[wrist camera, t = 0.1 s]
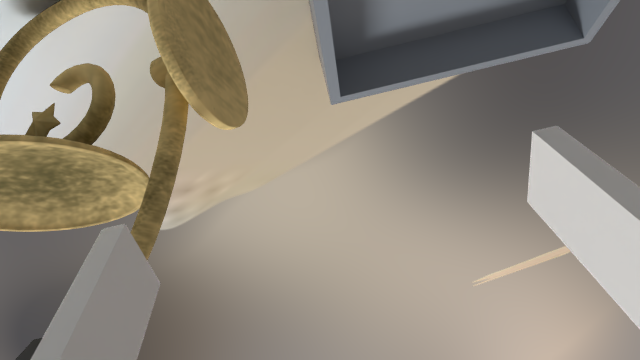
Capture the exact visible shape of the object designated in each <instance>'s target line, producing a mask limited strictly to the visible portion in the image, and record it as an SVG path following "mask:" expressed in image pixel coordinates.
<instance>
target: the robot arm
mask: <svg viewBox="0 0 640 360" xmlns="http://www.w3.org/2000/svg"><path fill="white" fill-rule="evenodd" d="M530 158H531V159H530V171H529V185H528V198H527V202H528V203H529V204H530V206H531V207H532V208H533V209H534V210H535V211H536V212H537V214H538V215H539V216H540V217H541V218H542V219H543V220H544V221H545V223H546V224H547V225H548V226H549V227H550V228H551V229H552V230H553V232H554V233H555V234H556V235H557V236H558V237H559V238H560V240H561V241H562V242H563V243H564V244H565V245H566V246H567V247H568V249H569V250H570V251H571V252H572V253H573V254H574V255H575V257H576V258H577V259H578V260H579V261H580V262H581V263H582V264H583V266H584V267H585V268H586V269H587V270H588V271H589V272H590V273H591V275H592V276H593V277H594V278H595V279H596V280H597V281H598V283H599V284H600V285H601V286H602V287H603V288H604V289H605V290H606V292H607V293H608V294H609V295H610V296H611V297H612V298H613V299H614V301H615V302H616V303H617V304H618V305H619V306H620V307H621V309H622V310H623V311H624V312H625V313H626V314H627V315H628V316H629V317H630V319H631V320H632V321H633V322H634V323H635V324H636V326H637V327H638V328H639V329H640V187H639V186H638V185H636V184H635V183H633V182H632V181H631V180H629V179H628V178H627V177H625V176H624V175H622V174H621V173H620V172H619V171H617V170H616V169H615V168H613V167H612V166H611V165H609V164H608V163H607V162H605V161H604V160H602V159H601V158H600V157H599V156H597V155H596V154H594V153H593V152H592V151H590V150H589V149H588V148H586V147H585V146H584V145H582V144H581V143H580V142H578V141H577V140H575V139H574V138H573V137H572V136H570V135H569V134H567V133H566V132H565V131H563V130H562V129H561V128H559V127H558V126H554V127H549V128H545V129H540V130H536V131H532V143H531V157H530ZM159 286H160V282H159V280H158V278H157V277H156V275H155V273H154V271H153V270H152V268H151V266H150V265H149V263H148V261H147V260H146V258H145V256H144V255H143V253H142V251H141V249H140V248H139V246H138V244H137V243H136V241H135V239H134V238H133V236H132V234H131V233H130V231H129V229H128V227H127V226H126V224H122V225H118V226H113V227H109V228H105V229H102V231H101V232H100V235H99V236H98V238H97V240H96V242H95V243H94V245H93V247H92V249H91V251H90V252H89V254H88V256H87V258H86V260H85V261H84V263H83V265H82V267H81V269H80V271H79V272H78V274H77V276H76V278H75V280H74V281H73V284H72V285H71V287H70V289H69V291H68V292H67V294H66V296H65V298H64V300H63V301H62V303H61V305H60V307H59V309H58V311H57V312H56V314H55V316H54V318H53V320H52V321H51V323H50V325H49V327H48V329H47V331H46V333H45V334H44V336H43V338H39V339H35V340H33V341H32V342H31V343H30V344H29V345H28V346H27V347H26V349H25V350H24V351H23V352H22V353H21V354H20V355H19V356H18V357H17V358H16V360H137V356H138V353H139V350H140V347H141V344H142V341H143V338H144V334H145V331H146V328H147V325H148V322H149V318H150V315H151V312H152V309H153V305H154V302H155V299H156V295H157V293H158V289H159Z"/></svg>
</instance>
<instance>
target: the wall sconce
mask: <svg viewBox="0 0 640 360" xmlns="http://www.w3.org/2000/svg"><path fill="white" fill-rule="evenodd" d="M111 5H127V6H133V7H136V8H139V9H142V10H144V11H145V12H146V13H148V16H149V21H150V26H151V29H152V33H153V36H154V39H155V42H156V45H157V48H158V50H159V53H160V55H161V57H159V58H157V59H155V60H154V61H152V62H151V65H150V74H151V76H152V78H153V80H154V81H155V83H156V84H158V85H159V86H161V87H163V88H165V103H164V111H163V120H162V126H161V131H160V136H159V141H158V146H157V151H156V155H155V159H154V162H153V166H152V170H151V174H150V178H149V177H148V175H147V174H146V173H145V172H144V171H143V170H142V169H141V168H140V167H139V166H138V165H136V164H135V163H134V162H132V161H130V160H129V159H127V158H125V157H123V156H121V155H119V154H116V153H114V152H112V151H109V150H106V149H103V148H100V147H97V146H93V145H92V144H93V143H94V142H95V141H96V140H97V139H98V137H99V136H100V135H101V134H102V132H103V131H104V130H105V128H106V126H107V124H108V123H109V121H110V119H111V116H112V113H113V109H114V106H115V89H114V84H113V82H112V80H111V78H110V76H109V74H108V73H107V72H106V71H105V70H104V69H103V68H102V67H100V66H97V65H93V64H89V63H86V64H81V65H76V66H73V67H71V68H69V69H67V70H65V71H64V72H62V73H61V74H60V75H59V76H57V77H56V78H55V79H54V81H53V82H52V83H51V84H50V86H51V87H52V88H54V89H55V90H58V91H60V92H63V93H67V94H70V93H72V92H73V91H74V90H76V89H77V88H78V87H80V86H81V85H83V84H85V83H90V85H91V87H92V101H91V105H90V108H89V110H88V112H87V114H86V116H85V117H84V118H83V120H82V121H81V122H80V124H79V125H78V126H77V127H76V128H75V129H74V130H73V131H72V132H71V133H70V134H68V135H67V136H66V137H64V138H63V139H59V138H51V137H47V135H48V133H49V131H50V130H51V129H53V128H54V127H56V126H58V125H59V124H61V123H60V122H59V121H58V120H57V119H56V118H55V117H54V106H55V103H54V104H52V105H51V106H50V107H48V108H47V109H46V110H45V111H44V112H32V117H33V122H32V124H31V125H30V127H29V129H28V131H27V133H26V134H25V135H0V231H22V232H23V231H25V232H30V231H31V232H33V231H56V230H67V229H75V228H82V227H88V226H93V225H98V224H102V223H107V222H110V221H113V220H117V219H119V218H122V217H125V216H127V215H129V214H131V213H133V212H135V211H137V210H138V209H139V212H138V214H137V217H136V220H135V222H134V225H133V228H132V231H131V234H132V236H133V238H134V239H135V241H136V243H137V244H138V246H139V248H140V249H141V251H142V253H143V255H144V256H145V258H146V260H148V258H149V255H150V253H151V251H152V248H153V246H154V243H155V241H156V238H157V236H158V233H159V230H160V227H161V225H162V222H163V219H164V216H165V214H166V210H167V207H168V203H169V200H170V197H171V193H172V190H173V187H174V183H175V179H176V175H177V171H178V166H179V162H180V158H181V154H182V148H183V143H184V137H185V131H186V124H187V114H188V104H190V105H191V106H192V108H193V109H194V110H195V111H196V112H197V113H198V114H199V115H200V116H201V117H202V118H204V119H205V120H206V121H207V122H209V123H210V124H212V125H213V126H215V127H217V128H220V129H225V130H231V129H235V128H237V127H240V126H241V125H242V124H243V123H244V122H245V120H246V118H247V113H248V95H247V89H246V84H245V79H244V75H243V72H242V69H241V65H240V62H239V60H238V57H237V54H236V52H235V49H234V47H233V44H232V42H231V40H230V38H229V36H228V34H227V32H226V30H225V28H224V26H223V24H222V22H221V20H220V19H219V17H218V15H217V14H216V12H215V10H214V9H213V7H212V6H211V4H210V3H209V1H208V0H61V1H59V2H57V3H56V4H54V5H52V6H50V7H49V8H47V9H46V10H44V11H43V12H41V13H40V14H38V15H37V16H36V17H35V18H33V19H32V20H31V21H29V22H28V23H27V24H26V25H25V26H24V27H22V28H21V29H20V30H19V31H18V32H17V33H16V34H15V35H14V36H13V37H12V38H11V39H10V40H9V41H8V43H7V44H6V45H5V46H4V47H3V49H2V50H1V51H0V99H1V96H2V93H3V91H4V88H5V86H6V84H7V82H8V80H9V78H10V77H11V75H12V73H13V72H14V70H15V69H16V67H17V66H18V64H19V63H20V62H21V61H22V59H23V58H24V57H25V56H26V54H27V53H28V52H29V51H30V50H31V49H32V48H33V47H34V46H35V45H36V44H37V43H38V42H39V41H41V40H42V39H43V38H44V37H45V36H47V35H48V34H49V33H51V32H52V31H53V30H55V29H56V28H58V27H59V26H61V25H62V24H64V23H66V22H67V21H69V20H71V19H73V18H74V17H77V16H79V15H81V14H83V13H85V12H88V11H90V10H93V9H96V8H100V7H104V6H111Z"/></svg>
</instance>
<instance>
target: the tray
mask: <svg viewBox="0 0 640 360" xmlns="http://www.w3.org/2000/svg"><path fill="white" fill-rule="evenodd" d="M619 1H620V0H309V4H310V10H311V15H312V20H313V26H314V31H315V36H316V42H317V47H318V52H319V57H320V62H321V66H322V70H323V74H324V78H325V82H326V86H327V90H328V94H329V98H330V102H331V105H333V104H337V103H341V102H345V101H350V100H354V99H358V98H362V97H366V96H370V95H375V94H379V93H383V92H387V91H391V90H395V89H399V88H404V87H408V86H412V85H416V84H420V83H424V82H429V81H433V80H437V79H441V78H445V77H449V76H453V75H458V74H462V73H466V72H470V71H474V70H478V69H482V68H487V67H491V66H495V65H499V64H503V63H507V62H512V61H516V60H520V59H524V58H528V57H532V56H537V55H540V54H545V53H548V52H553V51H557V50H561V49H566V48H569V47H574V46H578V45H582V44H586V43H590V41H591V40H592V39H593V37H594V36H595V34H596V33H597V32H598V30H599V29H600V27H601V26H602V25H603V23H604V22H605V20H606V19H607V18H608V16H609V15H610V14H611V12H612V11H613V9H614V8H615V7H616V5H617V4H618V2H619Z"/></svg>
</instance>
